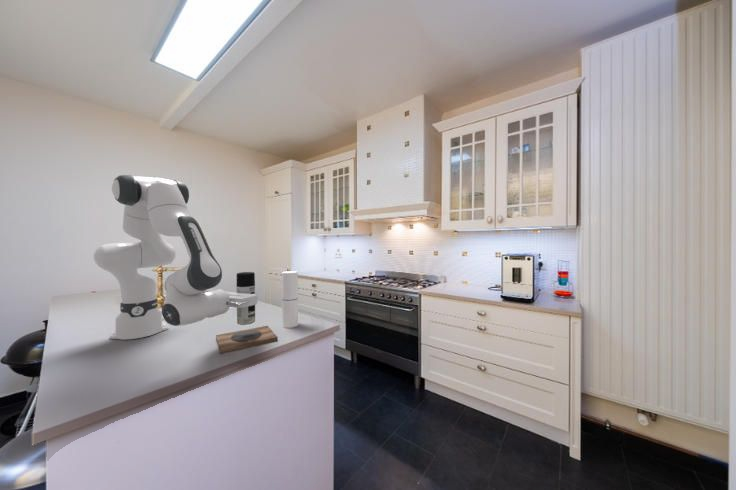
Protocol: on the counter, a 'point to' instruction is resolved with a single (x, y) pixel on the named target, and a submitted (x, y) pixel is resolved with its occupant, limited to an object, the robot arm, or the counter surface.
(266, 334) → the board
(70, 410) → the counter surface
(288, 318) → the cylindrical container
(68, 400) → the counter surface
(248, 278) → the spray can
